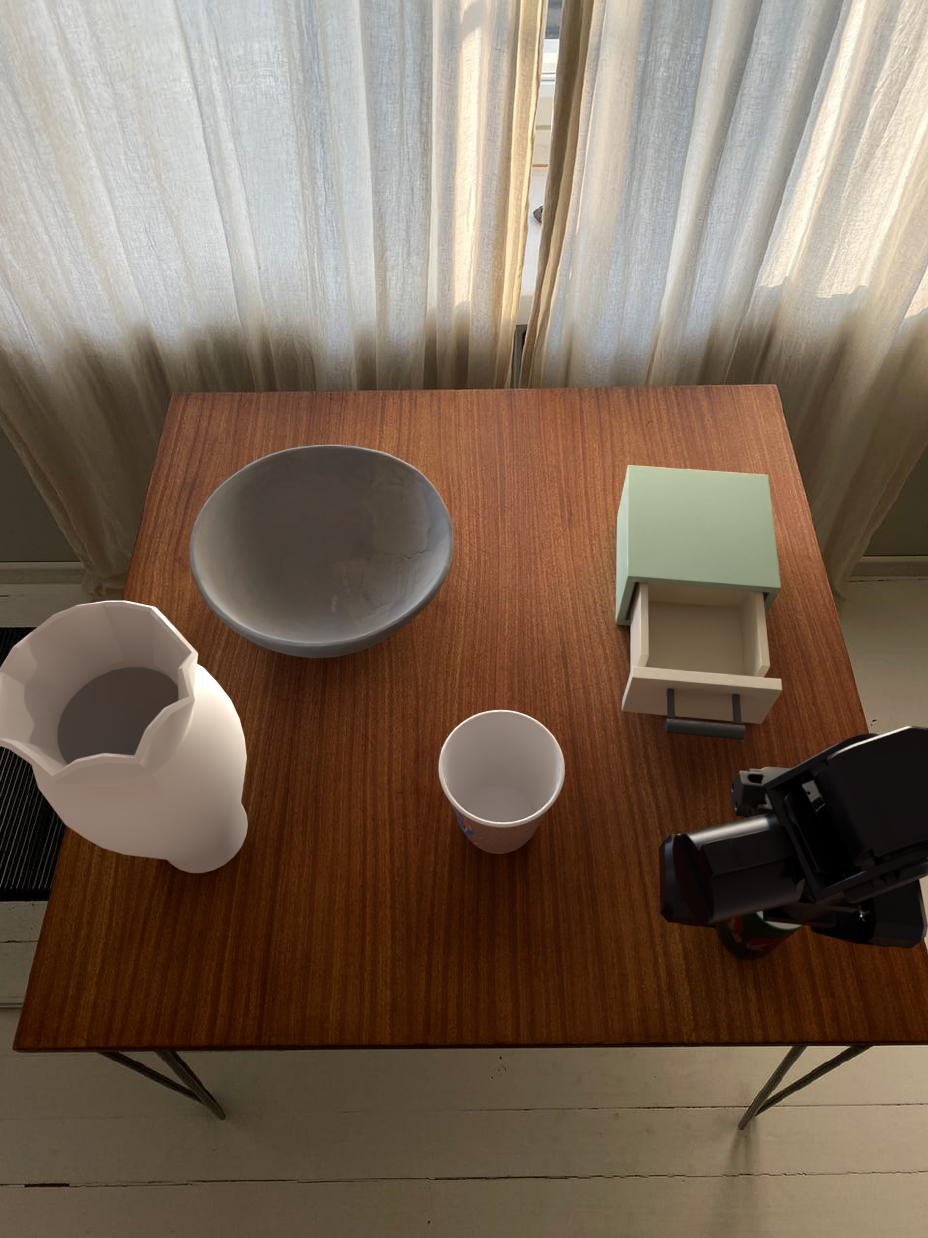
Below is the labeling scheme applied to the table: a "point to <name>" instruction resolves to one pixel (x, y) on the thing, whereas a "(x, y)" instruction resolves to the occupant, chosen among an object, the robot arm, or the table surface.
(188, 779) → the vase
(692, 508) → the cabinet
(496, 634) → the table surface
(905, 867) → the robot arm
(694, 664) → the drawer
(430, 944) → the table surface
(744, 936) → the soda can
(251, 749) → the table surface
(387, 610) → the bowl
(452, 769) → the coffee cup
